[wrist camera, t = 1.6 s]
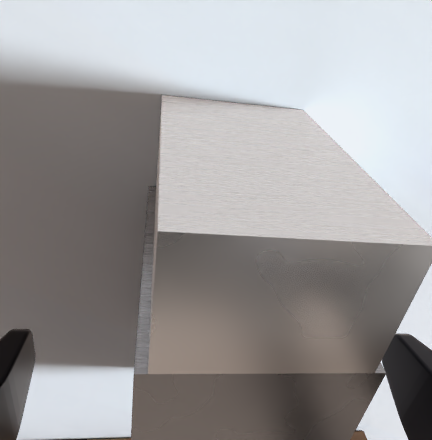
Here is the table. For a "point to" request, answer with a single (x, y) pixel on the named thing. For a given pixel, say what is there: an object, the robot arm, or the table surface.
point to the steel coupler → (265, 279)
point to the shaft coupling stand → (358, 436)
